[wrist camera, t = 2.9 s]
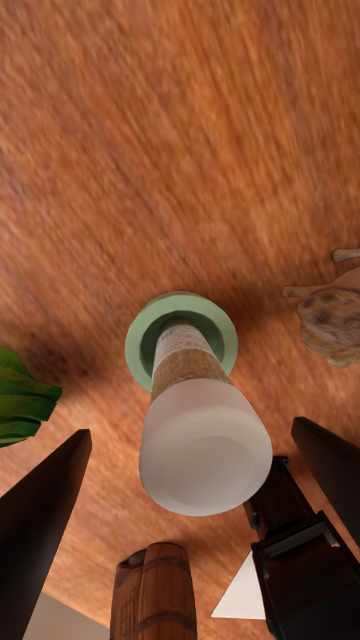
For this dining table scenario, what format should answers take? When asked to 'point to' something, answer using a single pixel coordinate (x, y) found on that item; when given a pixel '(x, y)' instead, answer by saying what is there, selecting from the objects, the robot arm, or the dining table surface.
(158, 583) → the wooden figurine
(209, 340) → the jar
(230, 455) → the sprinkles bottle
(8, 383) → the decorative plant
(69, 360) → the dining table surface
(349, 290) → the lion figurine
